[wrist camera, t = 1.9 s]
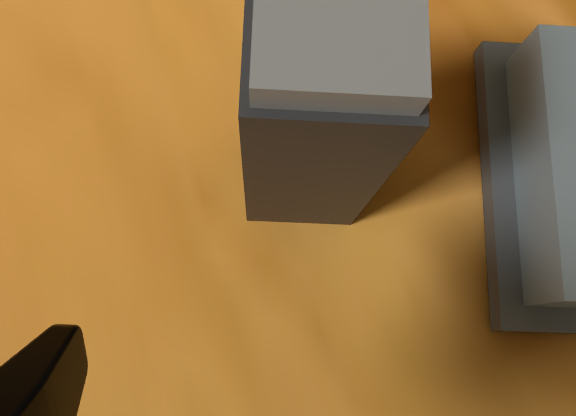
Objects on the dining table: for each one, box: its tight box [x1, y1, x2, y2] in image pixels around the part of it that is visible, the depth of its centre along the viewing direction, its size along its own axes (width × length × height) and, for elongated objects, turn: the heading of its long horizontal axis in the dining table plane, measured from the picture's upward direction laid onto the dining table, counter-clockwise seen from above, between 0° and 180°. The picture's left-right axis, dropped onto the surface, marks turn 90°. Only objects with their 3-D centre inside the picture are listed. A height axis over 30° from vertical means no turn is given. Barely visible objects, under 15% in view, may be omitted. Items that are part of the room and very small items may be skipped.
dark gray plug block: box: [238, 0, 432, 225], centre depth 18 cm, size 4×4×12 cm
